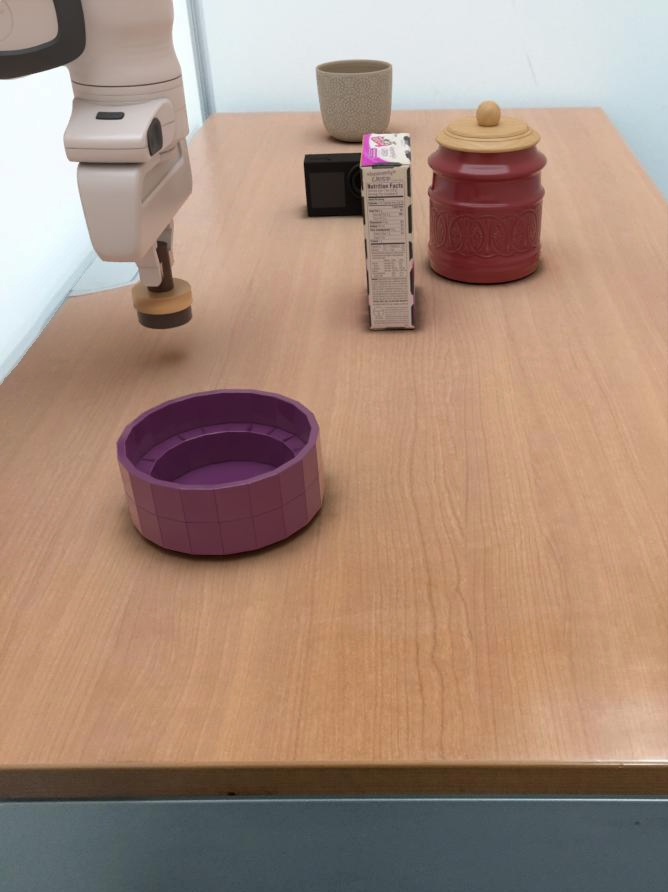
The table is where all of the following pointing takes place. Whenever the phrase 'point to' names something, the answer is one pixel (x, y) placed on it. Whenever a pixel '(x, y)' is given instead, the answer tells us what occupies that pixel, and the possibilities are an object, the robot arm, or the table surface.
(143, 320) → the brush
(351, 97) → the planter
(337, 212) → the digital camera
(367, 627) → the table surface
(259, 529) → the bowl
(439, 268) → the kitchen canister
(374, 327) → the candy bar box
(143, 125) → the robot arm
